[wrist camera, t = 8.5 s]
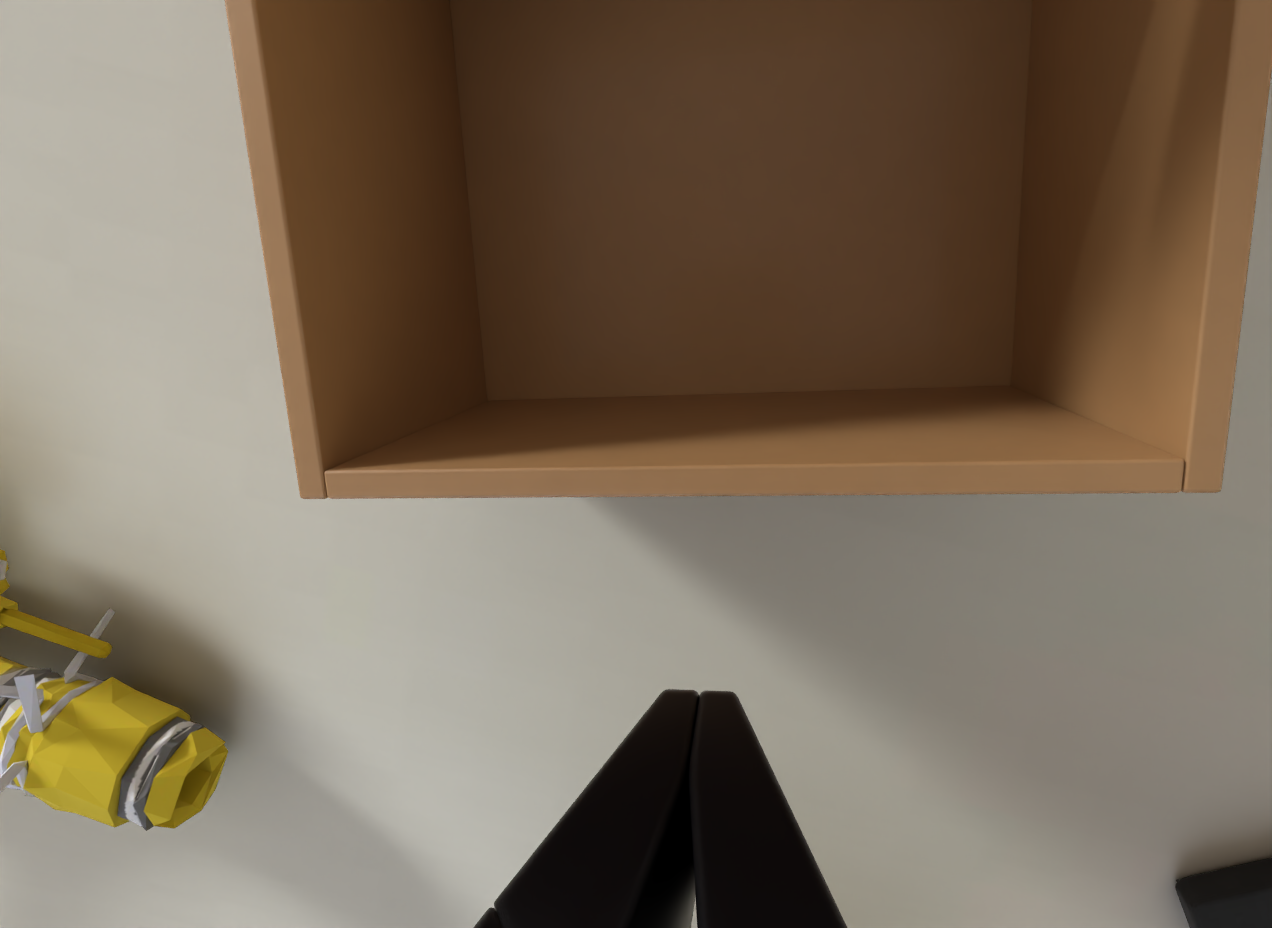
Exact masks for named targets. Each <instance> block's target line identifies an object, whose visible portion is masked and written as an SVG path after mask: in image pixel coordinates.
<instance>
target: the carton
mask: <svg viewBox="0 0 1272 928" xmlns="http://www.w3.org/2000/svg"><path fill="white" fill-rule="evenodd" d="M225 5H226V12H227V19H228V25H229V32H230V38H231V45H232V51H233V58H234V64H235V71H236V78H237V84H238V91H239V97H240V104H241V110H242V117H243V124H244V130H245V137H246V143H247V150H248V156H249V163H250V169H251V176H252V183H253V189H254V196H255V202H256V209H257V215H258V222H259V229H260V235H261V242H262V248H263V255H264V261H265V268H266V274H267V281H268V288H269V294H270V301H271V307H272V314H273V320H274V327H275V334H276V340H277V347H278V353H279V360H280V366H281V373H282V379H283V386H284V393H285V399H286V406H287V412H288V419H289V425H290V432H291V439H292V445H293V452H294V458H295V465H296V471H297V478H298V484H299V491H300V496H301V498H303V499H325V498H331V499H355V498H499V497H643V496H787V495H931V494H1075V493H1177V492H1180V491H1182V492H1185V493H1216V492H1220V491H1221V488H1222V480H1223V471H1224V463H1225V454H1226V446H1227V438H1228V429H1229V421H1230V413H1231V404H1232V396H1233V388H1234V379H1235V371H1236V363H1237V354H1238V346H1239V337H1240V329H1241V321H1242V312H1243V304H1244V296H1245V287H1246V279H1247V271H1248V262H1249V254H1250V245H1251V237H1252V229H1253V220H1254V212H1255V204H1256V195H1257V187H1258V179H1259V170H1260V162H1261V154H1262V145H1263V137H1264V128H1265V120H1266V112H1267V103H1268V95H1269V87H1270V78H1271V70H1272V0H225Z"/></svg>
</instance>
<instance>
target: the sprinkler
mask: <svg viewBox="0 0 1272 928" xmlns="http://www.w3.org/2000/svg"><path fill="white" fill-rule="evenodd" d="M8 569H9V567H8V563H7V558H6V554H5V551H4V550H1V549H0V595H1V594H2V593H3V592H4V591H5V590H7V589H8V588H9V587H10V585H9V584H8V582H7V580H6V578H5V573H6V571H7V570H8ZM114 613H115V611H113V610H112V609H110V608H109V609H108V611H107V612H106V614H105V615H104V616H103V618H102V619H101V621H100V622H99V623H98V625H97V626H96V628H95V629H94V630H93V632H92V633H91V635H90V636H87V635H85V634H82V633H79V632H76V631H73V630H71V629H68V628H65V627H62V626H59V625H57V624H54V623H51V622H48V621H45V620H42V619H40V618H37V617H34V616H31V615H28V614H26V613H23V612H20V611H18V603H16V602H14V601H12V600H9V599H7V598H4V597H2V596H0V628H4V627H10V628H13V629H16V630H19V631H22V632H25V633H28V634H31V635H34V636H36V637H39V638H42V639H45V640H48V641H51V642H54V643H57V644H60V645H63V646H65V647H68V648H71V649H74V650H77V651H78V653H77V654H76V656H75V657H74V658H73V660H72V661H71V663H70V664H69V665H68V667H67V668H66V670H65V671H64V677H62V676H59V674H58V673H57V672H51V669H41V668H34V667H26V666H24V665H21V664H19V663H16V662H13V661H11V660H8V659H6V658H3V657H1V656H0V793H1V792H2V791H3V790H4V789H5V788H12V789H19V790H23V792H24V794H25V796H35V797H37V798H39V799H40V800H42V801H43V802H45V803H46V804H47V805H49V806H50V807H52V808H53V809H55V810H60V811H66V812H72V813H77V814H79V815H82V816H85V817H88V818H90V819H93V820H96V821H99V822H101V823H104V824H107V825H110V826H113V827H117V826H119V825H122V824H124V823H126V822H129V821H132V822H134V823H136V824H138V825H140V826H142V827H143V828H144V829H145V830H146V831H147V830H148V829H150V828H151V827H153V826H159V827H168V828H176V827H177V826H179V825H180V824H182V823H183V822H185V821H186V820H188V819H189V818H191V817H192V816H194V815H195V814H197V813H198V812H200V811H201V810H202V809H203V807H204V806H205V804H206V803H207V801H208V800H209V798H210V797H211V795H212V794H213V792H214V791H215V789H216V786H217V783H218V780H219V777H220V774H221V771H222V768H223V765H224V763H225V760H226V757H227V754H228V750H227V748H226V747H225V746H224V743H225V741H223V740H222V739H221V738H219V737H218V736H216V735H215V734H214V733H212V732H211V731H209V730H208V729H207V728H204V726H203V725H200V724H198V723H193V722H191V720H190V715H188V714H187V713H186V712H184V711H183V710H182V709H180V708H177V707H175V706H172V705H170V704H168V703H165V702H163V701H161V700H158V699H156V698H153V697H151V696H149V695H146V694H144V693H141V692H139V691H137V690H135V689H133V688H131V687H129V686H128V685H126V684H124V683H122V682H120V681H119V680H117V679H115V678H113V677H111V678H109V679H107V680H106V681H101V680H98V679H97V680H96V678H94V677H91V676H87V675H83V674H80V673H77V671H78V670H79V668H80V667H81V665H82V664H83V662H84V660H85V659H86V657H87V656H88V654H89V655H92V656H94V657H97V658H106V657H107V656H108V655H109V654H110V653H111V649H112V646H111V645H110V644H109V643H107V642H104V641H101V640H99V639H98V638H99V637H100V635H101V634H102V632H103V631H104V629H105V627H106V626H107V624H108V623H109V621H110V620H111V618H112V616H113V615H114Z"/></svg>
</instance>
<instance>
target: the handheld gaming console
mask: <svg viewBox="0 0 1272 928" xmlns="http://www.w3.org/2000/svg"><path fill="white" fill-rule="evenodd" d="M1176 881H1177V883H1176V891H1177V894H1178V897H1179V899H1180V902H1181V905H1182V907H1183V910H1184V913H1185V915H1186V918H1187V921H1188V923H1189V926H1190V928H1272V858H1269V859H1265V860H1260V861H1256V862H1252V863H1247V864H1243V865H1238V866H1234V867H1230V868H1225V869H1221V870H1217V871H1212V872H1208V873H1204V874H1199V875H1195V876H1190V877H1186V878H1183V879H1181V880H1176Z"/></svg>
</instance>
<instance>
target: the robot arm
mask: <svg viewBox="0 0 1272 928" xmlns="http://www.w3.org/2000/svg"><path fill="white" fill-rule="evenodd" d="M695 895H696V910H697V926H698V928H847V926H846V924H845V922H844V920H843V918H842V916H841V914H840V912H839V909H838V907H837V905H836V903H835V901H834V899H833V897H832V895H831V893H830V890H829V888H828V886H827V884H826V882H825V880H824V878H823V876H822V874H821V872H820V869H819V867H818V865H817V863H816V861H815V859H814V857H813V855H812V853H811V850H810V848H809V846H808V844H807V842H806V840H805V838H804V836H803V834H802V831H801V829H800V827H799V825H798V823H797V821H796V819H795V817H794V815H793V813H792V810H791V808H790V806H789V804H788V802H787V800H786V798H785V796H784V794H783V791H782V789H781V787H780V785H779V783H778V781H777V779H776V777H775V775H774V772H773V770H772V768H771V766H770V764H769V762H768V760H767V758H766V756H765V754H764V751H763V749H762V747H761V745H760V743H759V741H758V739H757V737H756V735H755V732H754V730H753V728H752V726H751V724H750V722H749V720H748V718H747V716H746V713H745V711H744V709H743V707H742V705H741V703H740V701H739V699H738V697H737V696H736V694H735V693H733V692H730V691H703V692H702V693H701V694H700V696H699V694H698V693H697V692H696V691H694V690H674V689H668V690H665V691H663V692H662V693H661V694H660V695H659V697H658V698H657V699H656V700H655V702H654V703H653V704H652V705H651V707H650V708H649V709H648V710H647V712H646V713H645V714H644V715H643V717H642V718H641V719H640V720H639V722H638V723H637V724H636V725H635V727H634V728H633V729H632V730H631V732H630V733H629V734H628V735H627V737H626V738H625V739H624V740H623V742H622V743H621V744H620V745H619V747H618V748H617V749H616V750H615V752H614V753H613V754H612V755H611V757H610V758H609V759H608V760H607V762H606V763H605V764H604V765H603V767H602V768H601V769H600V770H599V772H598V773H597V774H596V775H595V777H594V778H593V779H592V780H591V782H590V783H589V784H588V785H587V787H586V788H585V789H584V790H583V792H582V793H581V794H580V795H579V797H578V798H577V799H576V800H575V802H574V803H573V804H572V806H571V807H570V808H569V809H568V811H567V812H566V813H565V814H564V816H563V817H562V818H561V819H560V821H559V822H558V823H557V824H556V826H555V827H554V828H553V829H552V831H551V832H550V833H549V834H548V836H547V837H546V838H545V839H544V841H543V842H542V843H541V844H540V846H539V847H538V848H537V849H536V851H535V852H534V853H533V854H532V856H531V857H530V858H529V859H528V861H527V862H526V863H525V864H524V866H523V867H522V868H521V869H520V871H519V872H518V873H517V874H516V876H515V877H514V878H513V879H512V881H511V882H510V883H509V884H508V886H507V887H506V888H505V889H504V891H503V892H502V893H501V894H500V896H499V897H498V898H497V899H496V901H495V902H494V907H495V909H494V908H489V909H488V910H487V911H486V912H485V914H484V915H483V916H482V918H481V919H480V920H479V921H478V923H477V924H476V925H475V926H474V928H691V922H692V916H693V909H694V902H695Z"/></svg>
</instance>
